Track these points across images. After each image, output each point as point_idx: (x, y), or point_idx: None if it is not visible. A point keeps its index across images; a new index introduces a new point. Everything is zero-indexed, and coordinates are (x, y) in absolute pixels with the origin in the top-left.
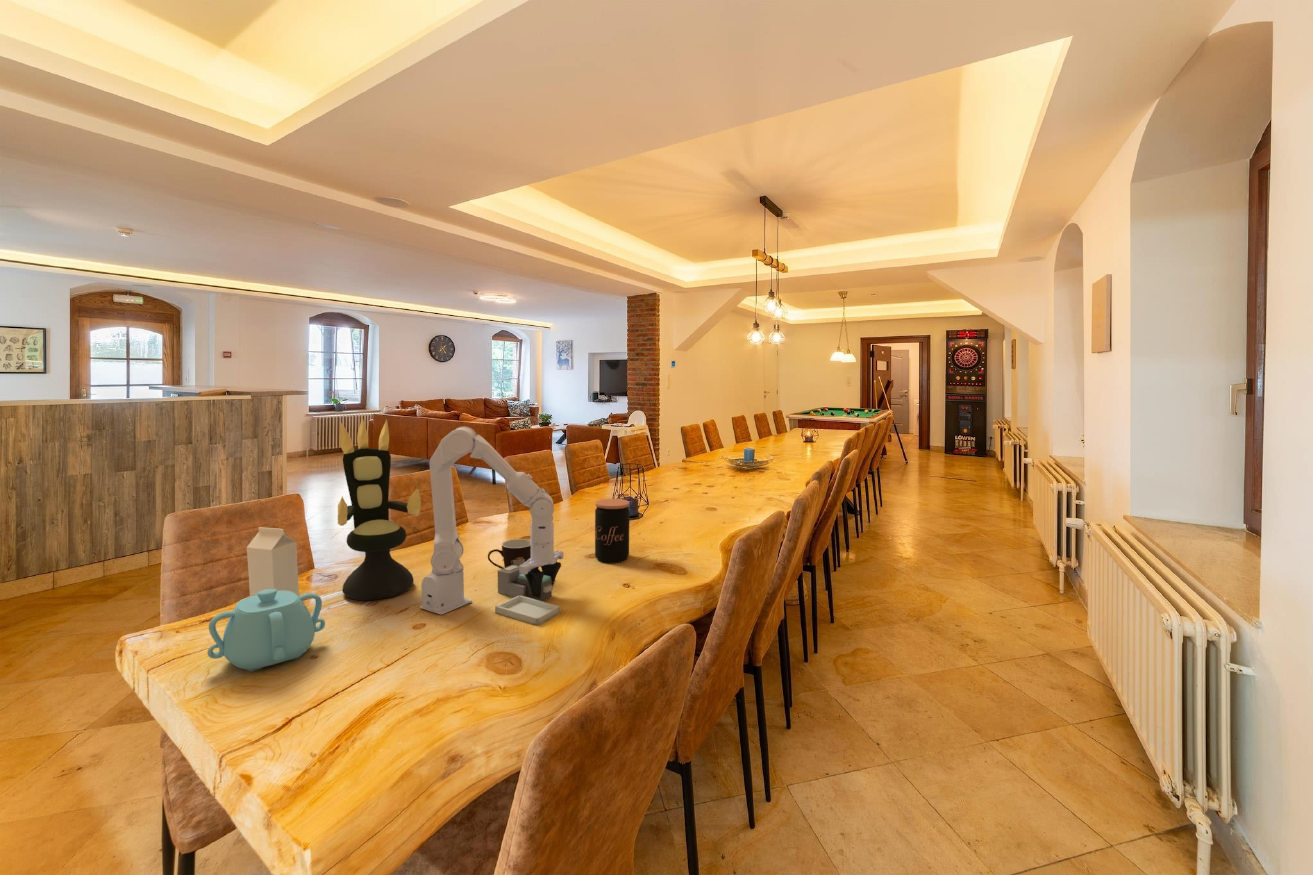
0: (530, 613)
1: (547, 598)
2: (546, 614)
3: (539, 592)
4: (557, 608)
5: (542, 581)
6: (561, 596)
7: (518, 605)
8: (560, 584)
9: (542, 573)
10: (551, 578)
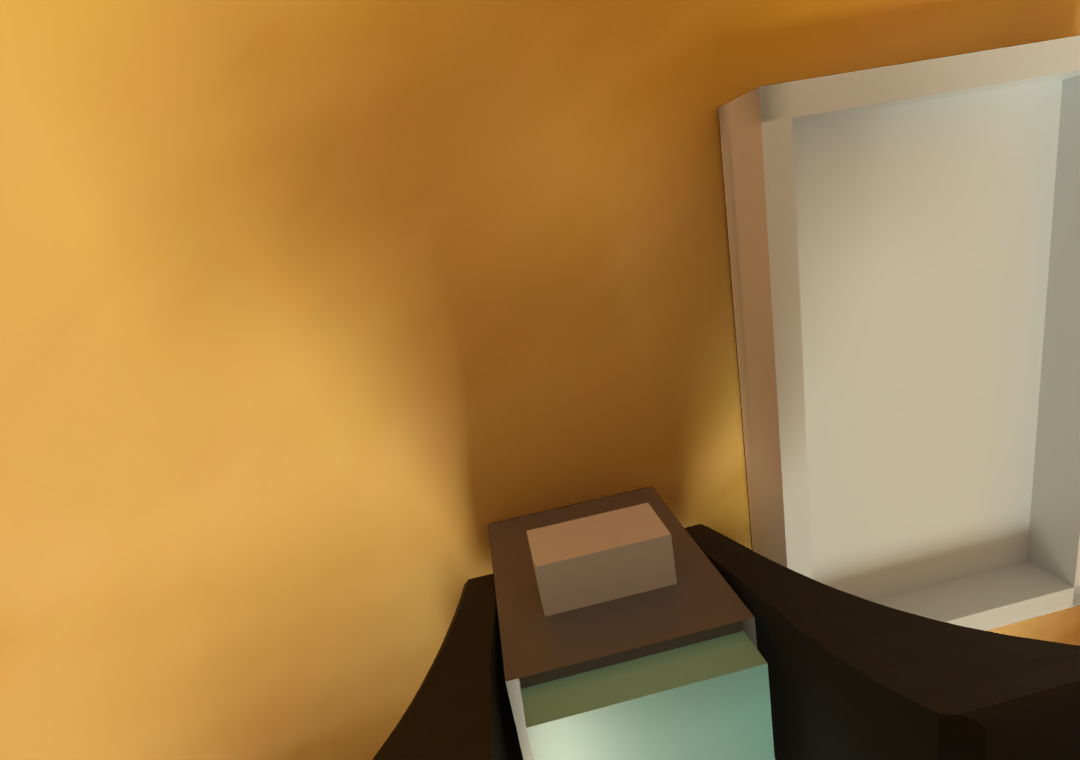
0: (938, 310)
1: (559, 511)
2: (997, 51)
3: (730, 541)
4: (806, 81)
5: (722, 654)
6: (399, 467)
7: (865, 544)
8: (185, 740)
9: (1032, 688)
10: (498, 696)
